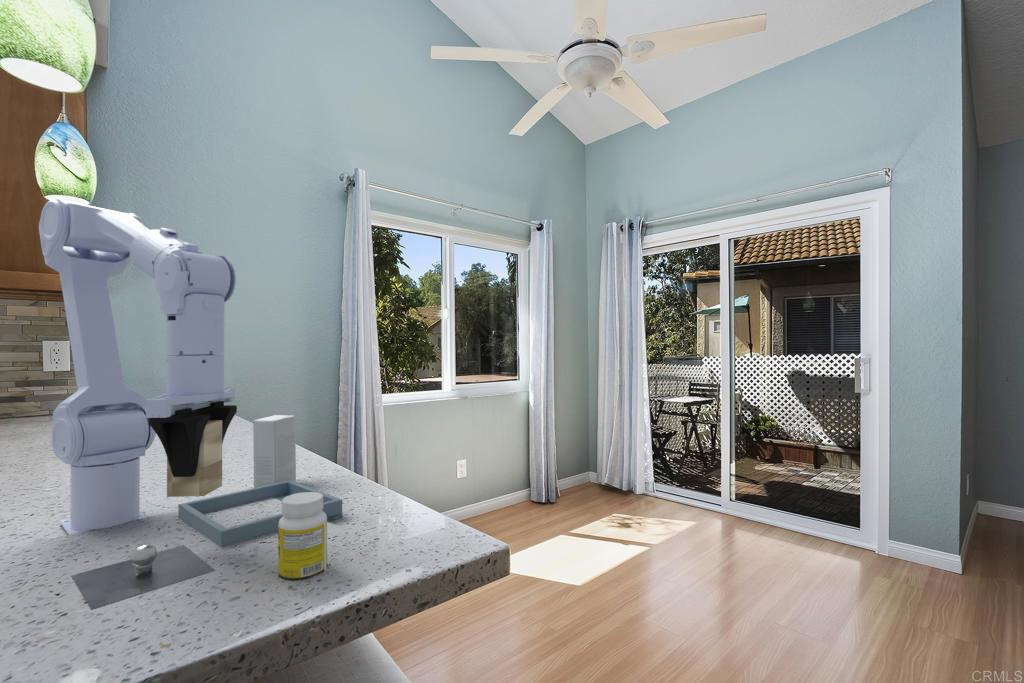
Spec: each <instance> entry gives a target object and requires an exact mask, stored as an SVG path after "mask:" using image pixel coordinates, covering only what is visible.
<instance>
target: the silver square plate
mask: <svg viewBox="0 0 1024 683" xmlns="http://www.w3.org/2000/svg"><path fill="white" fill-rule="evenodd" d="M211 572H216V569H215V568H213V567H212V566H211V565H209V564H208V563H207V562H206V561H205V560H204V559H202V558H201V557H199V556H198V555H197V554H196V553H195V552H193V551H192V550H191V549H190V548H188V547H187V546H185V544H183V545H180V546H176V547H172V548H168V549H164V550H160V551H158V549H157V548H156V546H154V545H153V544H150V543H144V544H141V545H138V546H137V547H136V548H134V549H133V550H132V552H131V555H130V559H128V560H123V561H119V562H117V563H112V564H110V565H105V566H103V567H98V568H94V569H90V570H87V571H84V572H80V573H77V574H76V573H75V574H71V576H70V577H71V578H72V580H73V582H74V583H75V586H76V587H77V588H78V590H79V592H80V594H81V596H82V597H83V598H84V600H85V602H86V604H87V605H88V607H89V609H90V610H91V611H92V610H95V609H99V608H103V607H105V606H108V605H111V604H114V603H117V602H120V601H123V600H127V599H131V598H135V597H136V596H139V595H143V594H145V593H149V592H151V591H152V592H153V591H155V590H159V589H161V588H164V587H168V586H171V585H175V584H176V583H180V582H183V581H187V580H189V579H192V578H197V577H199V576H202V575H205V574H208V573H211Z"/></svg>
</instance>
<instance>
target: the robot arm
mask: <svg viewBox="0 0 1024 683" xmlns="http://www.w3.org/2000/svg"><path fill="white" fill-rule="evenodd" d="M38 231H39V232H38V234H39V238H40V246H41V251H42V255H43V259H44V263H45V265H46V266H48V268H50V269H53V270H54V271H56V272H57V273H58V274H59V279H60V285H61V292H62V296H63V304H64V310H65V316H66V323H67V329H68V337H69V343H70V349H71V355H72V363H73V368H74V369H73V370H74V374H75V382H76V388H77V390H76V391H75V392H74V393H73V394H71V395H70V396H68V397H67V398H66V399H64V400H63V401H62V402H60V403H59V404H58V405H57V406H56V408H55V409H54V410H53V412H52V420H53V423H52V424H53V427H52V431H51V444H52V449H53V453H54V454H55V456H56V457H57V459H59V461H61V462H62V463H64V464H65V465H70V479H69V482H70V483H69V490H70V491H69V500H70V501H69V518H65V519H64V518H63V519H61V520H60V522H59V523H60V525H61V527H62V528H63V529H64V531H65V532H66V534H67V535H69V536H70V535H74V534H79V533H83V532H87V531H92V530H100V529H106V528H110V527H115V526H119V525H122V524H123V525H124V524H126V523H129V522H131V521H133V522H134V521H137V520H140V519H145V518H146V519H147V516H146V515H144V514H143V513H142V512H140V504H141V502H140V492H141V491H140V490H141V489H140V484H141V483H140V479H141V478H140V476H141V474H140V473H141V472H140V471H141V470H140V469H141V467H140V464H141V462H140V461H141V460H140V459H141V458H140V457H143V456H146V450H148V449H149V448H151V446H152V445H153V443H154V441H155V439H156V436H157V437H158V439H159V440H160V443H161V445H162V446H163V449H164V452H165V454H166V459H167V458H168V461H169V465H170V468H171V471H172V474H173V477H192V476H194V475H195V473H196V470H197V466H198V459H199V449H200V443H201V439H202V435H203V432H204V429H205V427H206V424H207V422H208V420H222V445H223V443H224V440H225V436H226V435H227V434H226V433H227V431H228V428H229V426H230V424H231V422H232V421H233V418H234V417H235V416H236V414H237V412H238V406H237V405H235V404H233V405H231V404H230V405H229V404H228V405H227V404H225V403H234V402H236V387H234V386H233V387H231V386H225V303H226V302H227V301H229V300H230V298H232V296H233V294H234V291H235V288H236V284H237V282H236V281H237V276H236V271H235V270H236V269H235V268H234V265H233V264H232V262H231V261H230V260H229V259H228V258H227V257H226V256H225V255H221V254H220V255H218V254H217V255H215V254H214V255H212V254H211V255H209V254H206V253H204V252H202V251H200V250H199V246H198V245H197V244H195V243H191V242H186V241H183V239H182V238H179V232H178V231H176V230H174V229H171V228H168V227H167V228H166V227H160V229H149V227H147V226H146V225H144V223H143V218H142V217H141V216H139V215H136V214H135V213H133V212H122V211H118V210H112V209H108V208H107V209H106V208H103V207H97V206H93V205H90V204H83V203H78V202H74V201H69V200H65V199H63V198H60V197H53V198H52V199H50V200H48V201H47V202H46V203H45V204H44V206H43V208H42V210H41V214H40V219H39V223H38ZM131 262H132V264H133V265H134V266H135V267H136V268H138V269H139V270H141V271H142V273H145V274H146V275H147V276H149V277H150V278H152V279H153V280H154V285H155V288H156V291H157V293H158V296H159V299H160V310H161V313H162V315H165V316H166V367H165V368H166V370H165V372H166V374H165V375H166V377H165V379H166V381H165V382H166V384H165V390H166V391H165V392H166V393H163V394H161V395H158V396H155V397H153V398H147V397H146V396H145V395H144V394H142V393H141V392H139V391H136V390H135V389H133V388H131V387H129V386H127V385H126V384H125V383H124V382H125V381H124V376H123V371H122V370H123V368H122V364H121V357H120V351H119V344H118V340H117V334H116V328H115V322H114V317H113V310H112V303H111V297H110V291H109V286H108V280H109V278H112V277H116V276H119V275H121V274H123V273H125V270H126V269H127V267H128V266H129V264H130V263H131Z"/></svg>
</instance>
